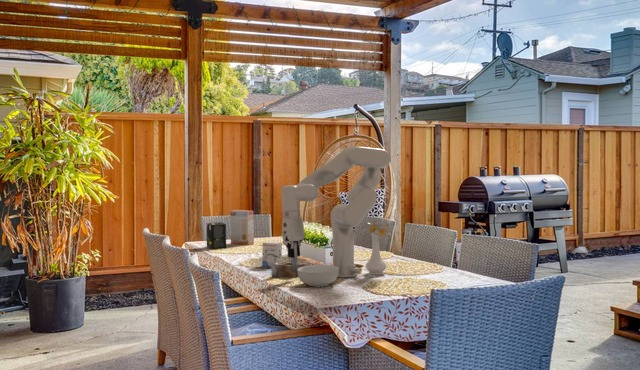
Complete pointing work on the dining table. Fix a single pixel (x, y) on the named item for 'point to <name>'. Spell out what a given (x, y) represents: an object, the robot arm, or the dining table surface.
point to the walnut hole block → (288, 269)
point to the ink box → (271, 253)
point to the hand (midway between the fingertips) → (294, 256)
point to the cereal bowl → (318, 275)
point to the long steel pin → (294, 260)
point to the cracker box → (242, 227)
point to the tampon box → (216, 235)
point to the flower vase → (376, 244)
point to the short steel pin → (274, 269)
